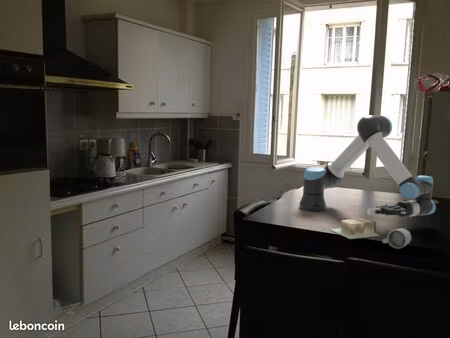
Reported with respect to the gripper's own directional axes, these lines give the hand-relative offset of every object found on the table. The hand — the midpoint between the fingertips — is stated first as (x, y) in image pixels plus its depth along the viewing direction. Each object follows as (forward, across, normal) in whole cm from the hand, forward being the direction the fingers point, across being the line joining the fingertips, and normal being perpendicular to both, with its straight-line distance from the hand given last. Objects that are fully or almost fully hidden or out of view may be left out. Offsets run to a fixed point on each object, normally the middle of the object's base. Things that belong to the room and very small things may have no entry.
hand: (368, 211), depth 186 cm
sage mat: (+7, 0, -10) cm, 12 cm away
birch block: (-2, 0, -6) cm, 7 cm away
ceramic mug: (+3, -20, -10) cm, 22 cm away
